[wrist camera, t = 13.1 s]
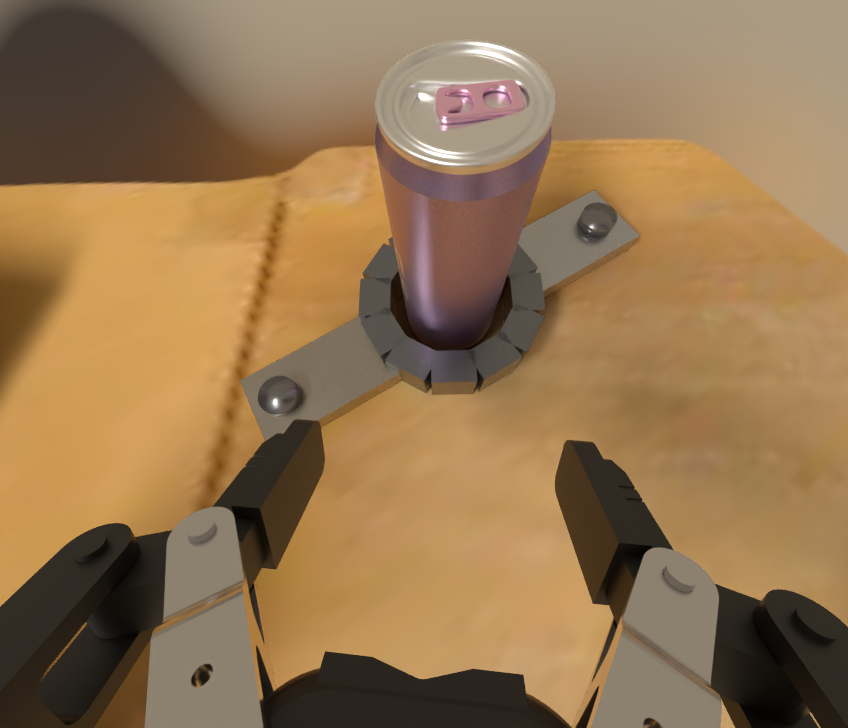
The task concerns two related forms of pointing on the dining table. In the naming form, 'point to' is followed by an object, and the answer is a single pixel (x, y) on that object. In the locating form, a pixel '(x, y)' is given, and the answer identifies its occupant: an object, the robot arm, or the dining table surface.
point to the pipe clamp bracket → (416, 363)
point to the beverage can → (460, 177)
